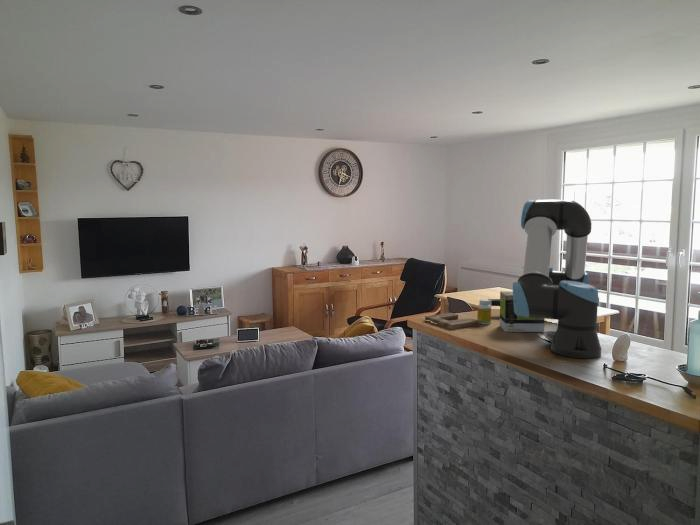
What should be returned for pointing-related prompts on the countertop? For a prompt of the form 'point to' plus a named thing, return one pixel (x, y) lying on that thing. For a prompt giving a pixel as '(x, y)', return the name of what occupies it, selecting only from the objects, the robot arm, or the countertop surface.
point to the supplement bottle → (484, 312)
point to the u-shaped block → (452, 321)
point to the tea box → (516, 317)
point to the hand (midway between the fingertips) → (491, 307)
